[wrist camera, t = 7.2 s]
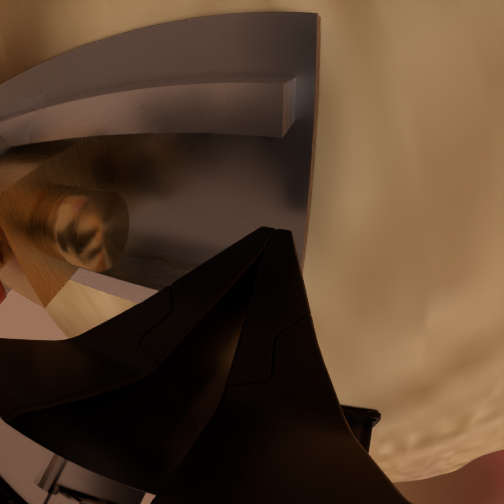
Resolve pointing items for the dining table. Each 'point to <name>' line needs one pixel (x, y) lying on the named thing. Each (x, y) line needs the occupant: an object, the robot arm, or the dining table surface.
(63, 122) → the grey metal channel
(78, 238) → the valve
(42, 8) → the dining table surface
